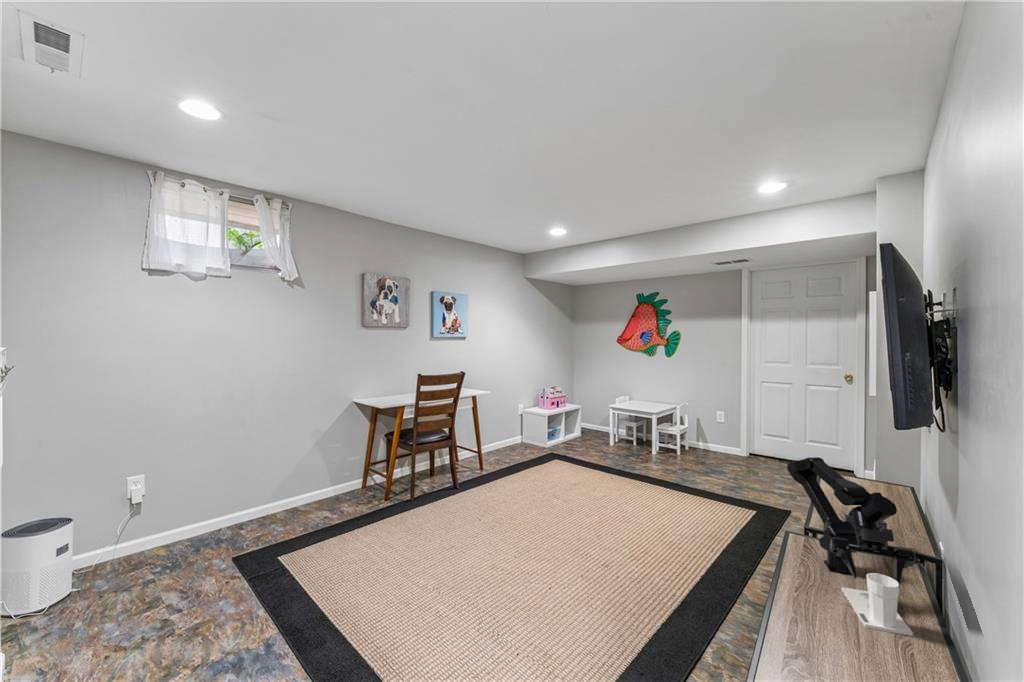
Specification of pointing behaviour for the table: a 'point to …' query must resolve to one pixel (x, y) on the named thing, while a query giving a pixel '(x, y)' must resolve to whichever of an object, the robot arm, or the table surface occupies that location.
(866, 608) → the indicator panel
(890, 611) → the cup
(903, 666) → the table surface
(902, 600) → the table surface
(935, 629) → the table surface
